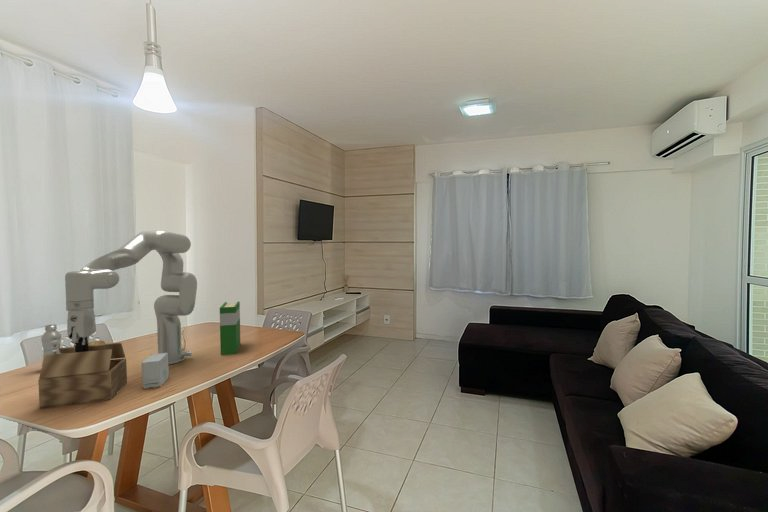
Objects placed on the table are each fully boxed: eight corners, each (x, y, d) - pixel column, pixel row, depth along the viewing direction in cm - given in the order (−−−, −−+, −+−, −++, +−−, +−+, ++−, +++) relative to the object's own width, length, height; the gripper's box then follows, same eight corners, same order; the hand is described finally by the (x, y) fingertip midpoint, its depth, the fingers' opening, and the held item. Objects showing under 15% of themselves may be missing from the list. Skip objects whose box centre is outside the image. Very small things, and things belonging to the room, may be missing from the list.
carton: (127, 382, 138) (126, 358, 138) (111, 399, 123) (110, 371, 123) (64, 390, 131) (63, 364, 131) (39, 409, 116) (38, 379, 116)
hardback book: (225, 345, 189) (225, 302, 188) (240, 344, 191) (239, 301, 191) (220, 355, 172) (219, 307, 172) (236, 353, 174) (235, 306, 174)
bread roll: (110, 351, 180) (109, 336, 180) (103, 360, 167) (102, 343, 167) (86, 354, 176) (85, 339, 175) (77, 363, 162) (77, 346, 162)
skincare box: (151, 378, 142) (151, 353, 142) (169, 377, 144) (168, 352, 144) (141, 389, 132) (140, 362, 132) (160, 386, 134) (159, 360, 134)
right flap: (125, 357, 138) (125, 356, 138) (120, 343, 134) (121, 342, 134) (64, 363, 131) (65, 362, 132) (58, 349, 127) (59, 348, 128)
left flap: (112, 349, 126) (111, 349, 126) (108, 371, 123) (108, 371, 122) (45, 355, 120) (44, 355, 119) (39, 378, 116) (39, 378, 116)
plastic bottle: (50, 367, 157) (48, 324, 156) (66, 366, 157) (64, 323, 157) (37, 372, 150) (35, 327, 150) (54, 372, 151) (52, 326, 150)
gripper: (83, 308, 118) (84, 360, 119) (101, 301, 132) (103, 348, 133) (55, 309, 116) (57, 363, 116) (77, 302, 130) (79, 350, 130)
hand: (82, 355), depth 124 cm, fingers closed
